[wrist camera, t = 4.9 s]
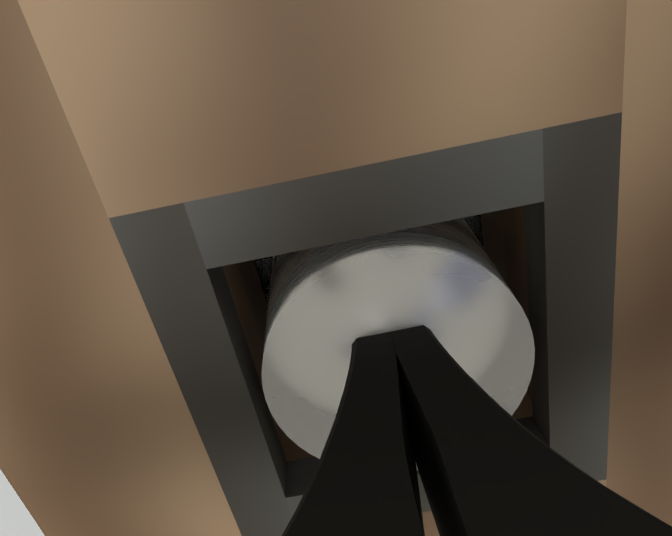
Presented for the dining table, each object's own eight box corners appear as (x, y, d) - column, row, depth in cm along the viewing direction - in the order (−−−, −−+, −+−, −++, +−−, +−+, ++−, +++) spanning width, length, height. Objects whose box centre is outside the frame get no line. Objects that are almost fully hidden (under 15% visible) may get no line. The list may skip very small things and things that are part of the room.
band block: (711, -199, 11) (987, -307, 7) (654, 419, 18) (765, 562, 14) (-84, -17, 12) (-317, -5, 7) (173, 507, 19) (135, 670, 15)
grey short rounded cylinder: (460, 147, 13) (530, 226, 9) (477, 324, 16) (538, 448, 12) (249, 190, 13) (228, 286, 9) (297, 359, 16) (296, 493, 12)
